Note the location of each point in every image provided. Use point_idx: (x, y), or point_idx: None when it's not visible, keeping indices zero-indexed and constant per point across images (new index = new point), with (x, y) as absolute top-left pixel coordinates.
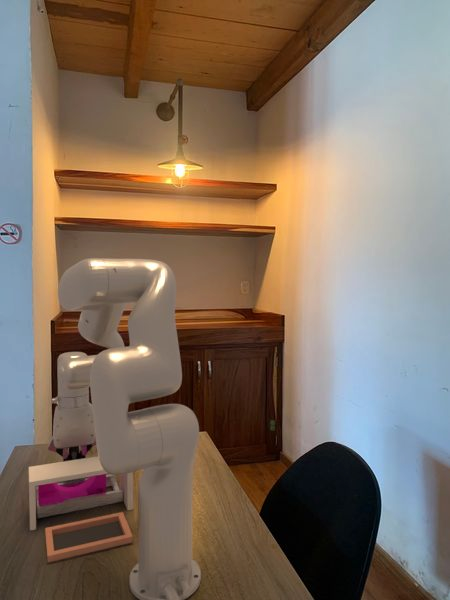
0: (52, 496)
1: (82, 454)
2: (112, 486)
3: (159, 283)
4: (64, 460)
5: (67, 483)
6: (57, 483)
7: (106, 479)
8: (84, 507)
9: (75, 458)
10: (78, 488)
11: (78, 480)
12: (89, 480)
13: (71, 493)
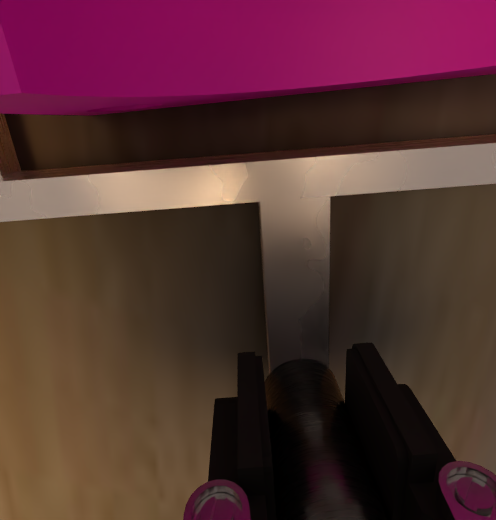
0: None
1: (243, 496)
2: (7, 138)
3: None
4: (442, 451)
5: (393, 154)
6: (478, 183)
7: (32, 177)
8: None
9: (316, 473)
10: (300, 4)
11: (287, 186)
12: (172, 9)
13: None
